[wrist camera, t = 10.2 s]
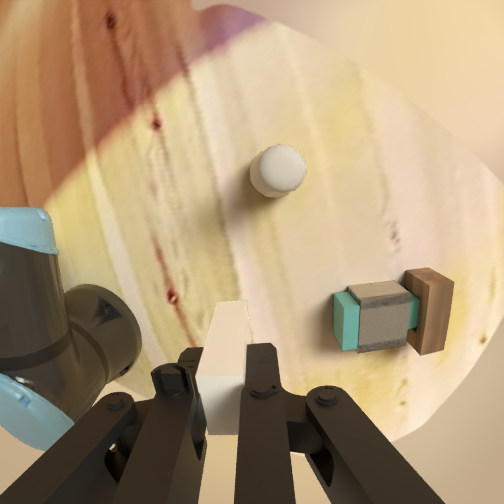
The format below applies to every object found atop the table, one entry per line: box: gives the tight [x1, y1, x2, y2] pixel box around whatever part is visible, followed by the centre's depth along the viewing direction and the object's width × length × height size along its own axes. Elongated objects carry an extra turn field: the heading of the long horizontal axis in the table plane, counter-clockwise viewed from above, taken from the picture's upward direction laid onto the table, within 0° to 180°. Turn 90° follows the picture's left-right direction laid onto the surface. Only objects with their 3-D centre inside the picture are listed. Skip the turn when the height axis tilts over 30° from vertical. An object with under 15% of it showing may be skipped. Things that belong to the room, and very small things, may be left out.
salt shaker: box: [249, 144, 306, 198], centre depth 31 cm, size 6×6×13 cm
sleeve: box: [348, 281, 411, 353], centre depth 39 cm, size 7×7×6 cm
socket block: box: [405, 268, 454, 356], centre depth 38 cm, size 4×10×7 cm, turn 5°
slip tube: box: [333, 290, 420, 351], centre depth 39 cm, size 14×6×5 cm, turn 95°
